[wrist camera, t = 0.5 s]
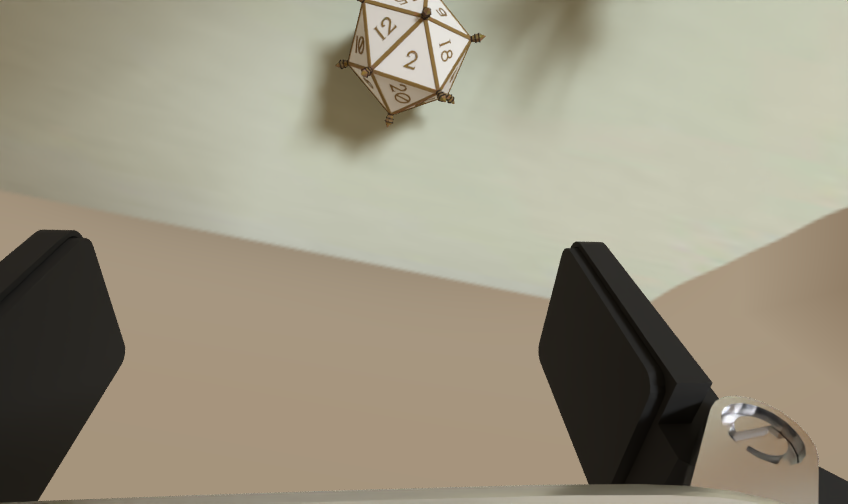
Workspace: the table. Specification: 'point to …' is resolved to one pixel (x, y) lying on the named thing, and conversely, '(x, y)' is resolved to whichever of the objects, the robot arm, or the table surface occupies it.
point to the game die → (407, 52)
